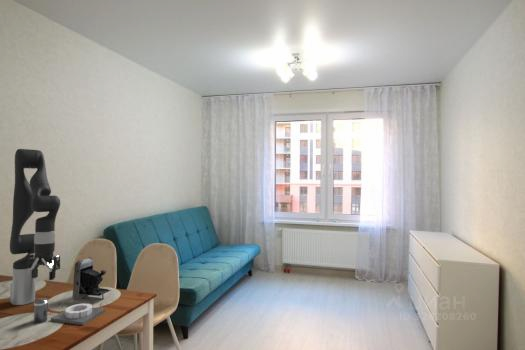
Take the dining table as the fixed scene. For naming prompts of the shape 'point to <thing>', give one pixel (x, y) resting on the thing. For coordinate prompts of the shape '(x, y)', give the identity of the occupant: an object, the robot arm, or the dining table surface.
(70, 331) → the dining table surface
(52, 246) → the robot arm
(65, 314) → the mount
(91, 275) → the vintage camera
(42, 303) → the lens
